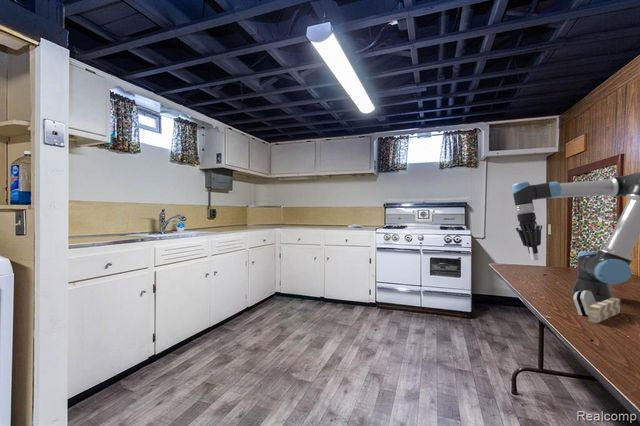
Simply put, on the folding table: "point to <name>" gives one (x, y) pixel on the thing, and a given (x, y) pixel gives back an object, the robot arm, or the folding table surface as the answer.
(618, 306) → the bench stop
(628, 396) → the folding table surface
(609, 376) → the folding table surface
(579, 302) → the white black rounded case
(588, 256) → the robot arm
